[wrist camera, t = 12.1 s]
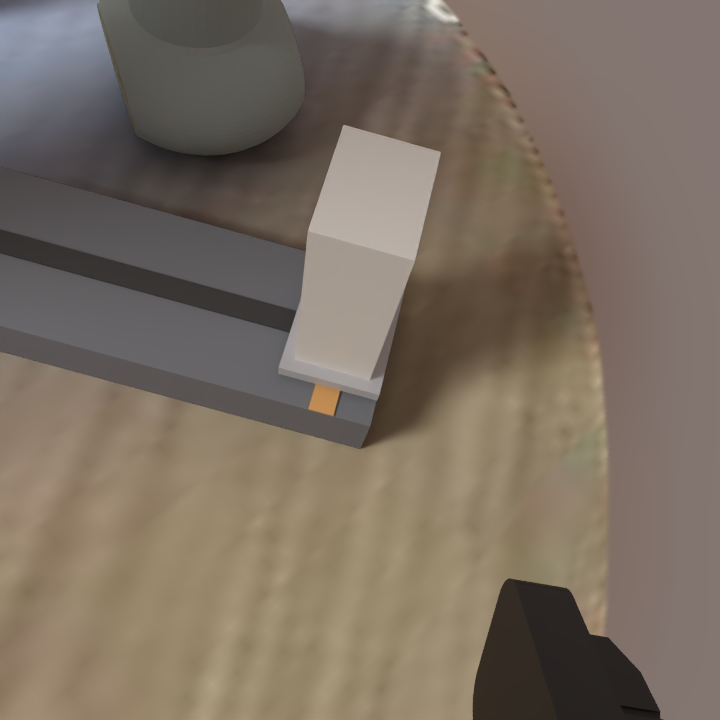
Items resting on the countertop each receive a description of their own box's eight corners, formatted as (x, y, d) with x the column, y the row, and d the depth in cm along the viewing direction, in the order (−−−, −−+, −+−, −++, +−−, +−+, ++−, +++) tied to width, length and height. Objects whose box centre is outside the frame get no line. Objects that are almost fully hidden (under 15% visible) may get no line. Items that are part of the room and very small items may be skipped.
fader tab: (278, 373, 26) (284, 240, 17) (311, 269, 28) (331, 108, 20) (376, 400, 26) (429, 281, 17) (402, 294, 28) (459, 144, 20)
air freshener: (104, 44, 36) (51, -163, 27) (251, 22, 38) (246, -176, 29) (155, 199, 32) (112, 20, 23) (314, 165, 34) (331, -11, 25)
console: (-95, 325, 28) (-135, 288, 25) (-16, 199, 31) (-44, 153, 28) (360, 448, 28) (370, 425, 25) (393, 312, 31) (406, 277, 28)
